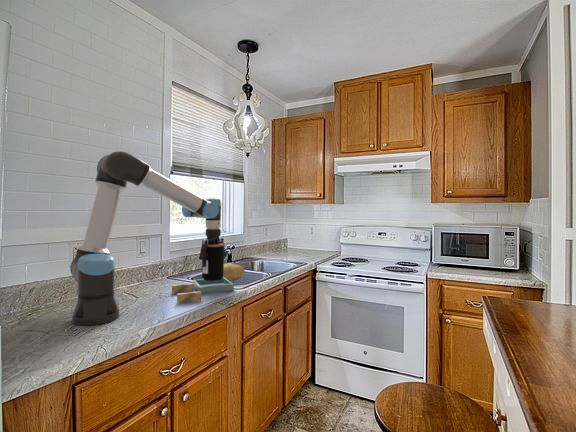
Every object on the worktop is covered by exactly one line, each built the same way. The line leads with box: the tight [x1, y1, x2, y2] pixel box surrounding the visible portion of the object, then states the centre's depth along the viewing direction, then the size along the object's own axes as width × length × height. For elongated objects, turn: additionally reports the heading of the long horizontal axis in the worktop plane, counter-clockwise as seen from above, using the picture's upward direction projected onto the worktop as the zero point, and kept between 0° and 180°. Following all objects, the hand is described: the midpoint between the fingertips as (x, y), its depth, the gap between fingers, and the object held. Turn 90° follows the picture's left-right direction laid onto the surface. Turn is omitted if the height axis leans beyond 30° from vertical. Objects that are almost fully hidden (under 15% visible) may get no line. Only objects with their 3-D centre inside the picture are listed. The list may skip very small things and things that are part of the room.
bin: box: [192, 277, 235, 295], centre depth 166 cm, size 17×17×4 cm
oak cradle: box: [171, 282, 202, 305], centre depth 150 cm, size 10×19×4 cm, turn 27°
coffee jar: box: [201, 243, 225, 281], centre depth 166 cm, size 11×11×18 cm
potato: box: [223, 263, 245, 282], centre depth 185 cm, size 10×14×10 cm
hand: (212, 271), depth 166 cm, fingers closed on coffee jar, 11 cm apart
